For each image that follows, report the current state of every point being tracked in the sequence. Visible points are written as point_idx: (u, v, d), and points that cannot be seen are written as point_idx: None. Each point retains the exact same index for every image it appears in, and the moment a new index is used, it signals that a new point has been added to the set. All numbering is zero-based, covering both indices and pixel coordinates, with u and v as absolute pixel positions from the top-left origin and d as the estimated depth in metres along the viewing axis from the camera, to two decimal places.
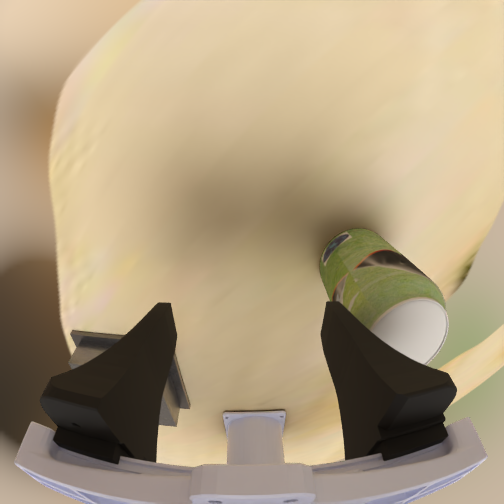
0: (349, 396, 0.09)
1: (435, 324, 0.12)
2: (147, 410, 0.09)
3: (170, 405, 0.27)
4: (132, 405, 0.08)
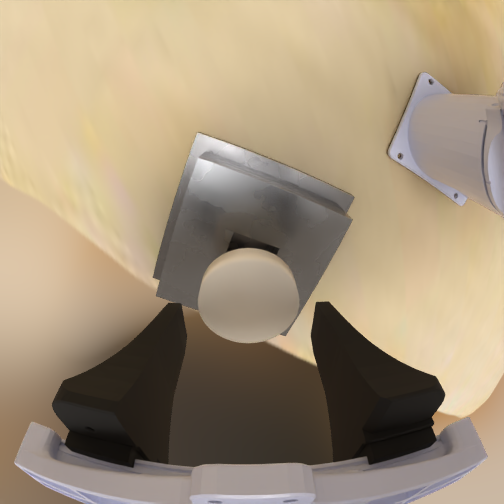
0: (337, 398, 0.09)
1: None
2: (160, 412, 0.09)
3: (299, 193, 0.17)
4: (146, 407, 0.08)
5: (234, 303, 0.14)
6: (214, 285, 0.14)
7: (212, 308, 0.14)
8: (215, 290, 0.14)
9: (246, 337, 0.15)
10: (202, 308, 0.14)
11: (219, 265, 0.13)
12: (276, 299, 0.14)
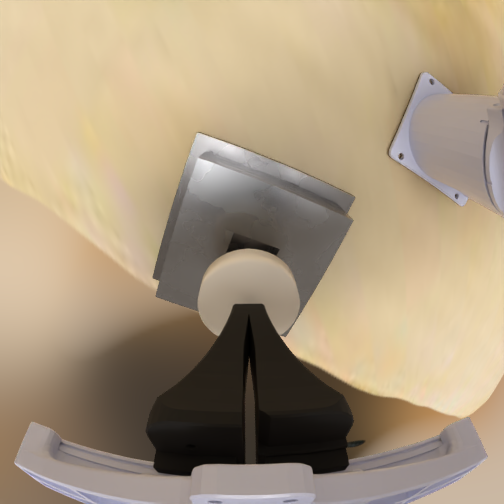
0: (255, 403, 0.09)
1: None
2: (244, 416, 0.09)
3: (299, 194, 0.17)
4: (243, 413, 0.08)
5: None
6: (214, 286, 0.13)
7: (212, 309, 0.14)
8: (215, 291, 0.14)
9: None
10: (202, 309, 0.14)
11: (219, 266, 0.13)
12: (276, 300, 0.14)
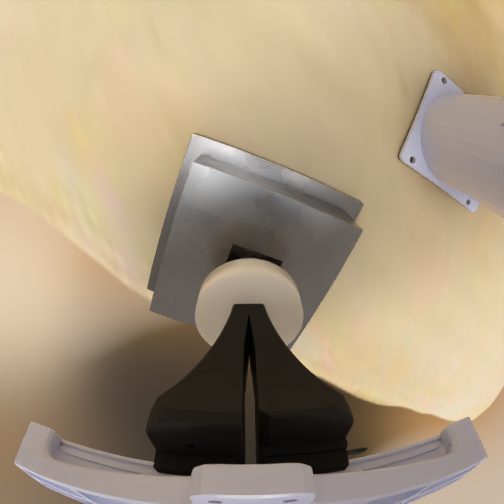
0: (255, 403, 0.09)
1: None
2: (244, 416, 0.09)
3: (305, 201, 0.16)
4: (243, 413, 0.08)
5: None
6: (212, 299, 0.12)
7: (210, 322, 0.13)
8: (213, 304, 0.13)
9: None
10: (199, 322, 0.13)
11: (217, 277, 0.12)
12: (279, 313, 0.13)
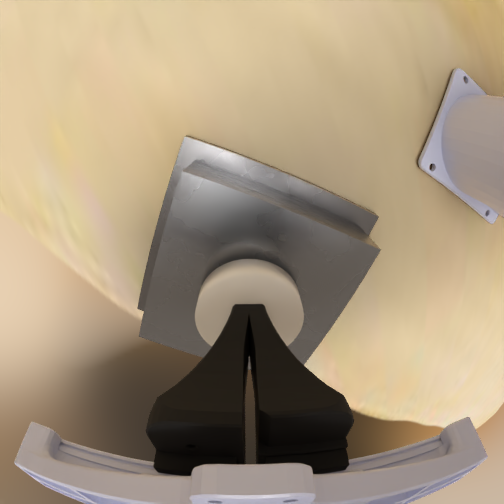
0: None
1: None
2: (244, 416, 0.09)
3: (315, 216, 0.13)
4: (243, 413, 0.08)
5: None
6: (212, 299, 0.12)
7: (210, 323, 0.13)
8: (213, 304, 0.13)
9: None
10: (200, 322, 0.13)
11: (218, 277, 0.12)
12: (279, 314, 0.13)
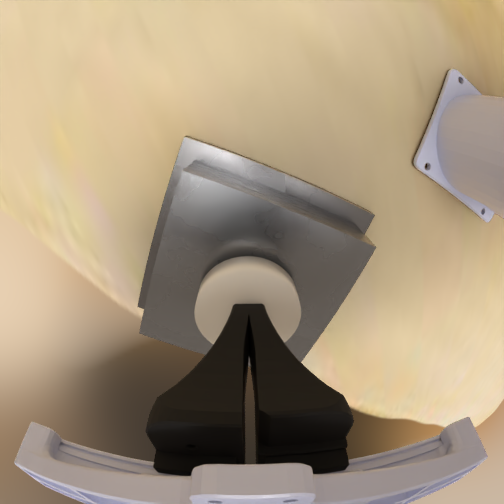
0: (255, 403, 0.09)
1: None
2: (244, 416, 0.09)
3: (311, 215, 0.14)
4: (243, 413, 0.08)
5: None
6: (211, 296, 0.13)
7: (209, 319, 0.13)
8: (212, 301, 0.13)
9: None
10: (199, 319, 0.13)
11: (217, 274, 0.13)
12: (277, 310, 0.13)
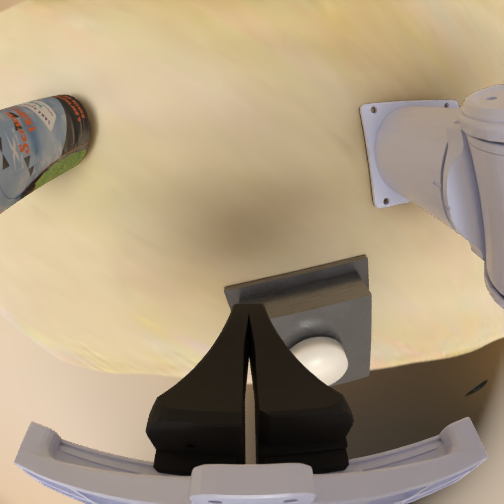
0: (255, 403, 0.09)
1: None
2: (244, 416, 0.09)
3: (322, 300, 0.21)
4: (243, 413, 0.08)
5: None
6: None
7: None
8: None
9: (327, 383, 0.22)
10: None
11: None
12: (330, 361, 0.20)
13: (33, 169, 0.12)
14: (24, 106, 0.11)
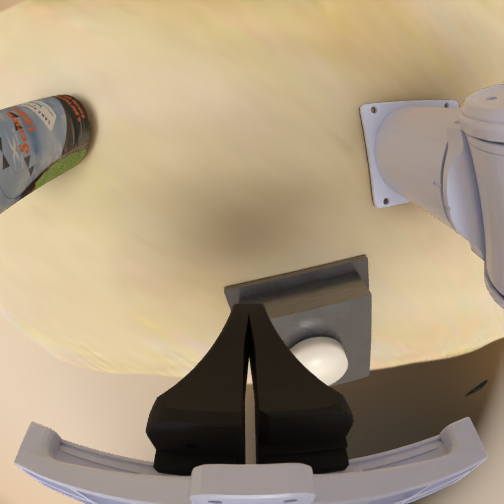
0: (255, 403, 0.09)
1: None
2: (244, 416, 0.09)
3: (322, 300, 0.21)
4: (243, 413, 0.08)
5: None
6: None
7: None
8: None
9: (327, 383, 0.22)
10: None
11: None
12: (330, 361, 0.20)
13: (33, 169, 0.12)
14: (24, 106, 0.11)
